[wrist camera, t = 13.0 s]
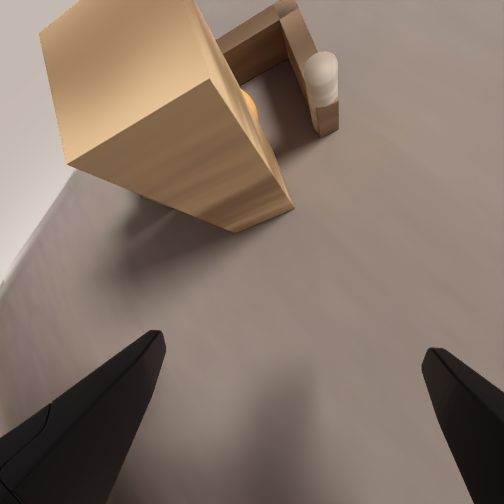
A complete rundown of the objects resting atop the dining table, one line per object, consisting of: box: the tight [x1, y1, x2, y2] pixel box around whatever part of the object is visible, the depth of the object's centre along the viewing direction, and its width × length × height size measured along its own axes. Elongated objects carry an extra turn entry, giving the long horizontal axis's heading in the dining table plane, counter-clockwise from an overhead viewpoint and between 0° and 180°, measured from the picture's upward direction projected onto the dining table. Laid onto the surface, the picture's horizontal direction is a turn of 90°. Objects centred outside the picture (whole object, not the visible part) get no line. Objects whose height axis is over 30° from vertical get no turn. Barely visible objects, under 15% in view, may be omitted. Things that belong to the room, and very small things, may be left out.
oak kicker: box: [39, 0, 295, 233], centre depth 13 cm, size 4×4×12 cm
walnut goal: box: [142, 0, 339, 208], centre depth 18 cm, size 8×14×5 cm, turn 108°
